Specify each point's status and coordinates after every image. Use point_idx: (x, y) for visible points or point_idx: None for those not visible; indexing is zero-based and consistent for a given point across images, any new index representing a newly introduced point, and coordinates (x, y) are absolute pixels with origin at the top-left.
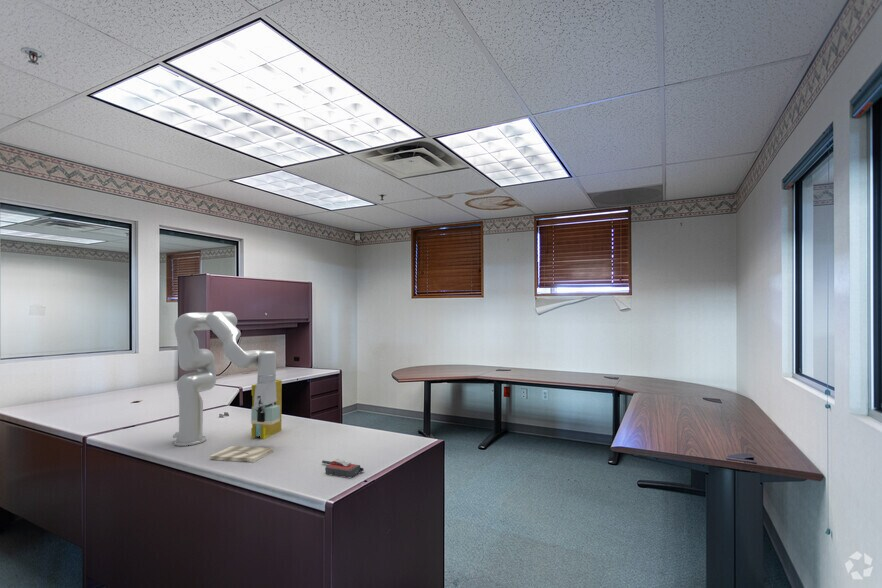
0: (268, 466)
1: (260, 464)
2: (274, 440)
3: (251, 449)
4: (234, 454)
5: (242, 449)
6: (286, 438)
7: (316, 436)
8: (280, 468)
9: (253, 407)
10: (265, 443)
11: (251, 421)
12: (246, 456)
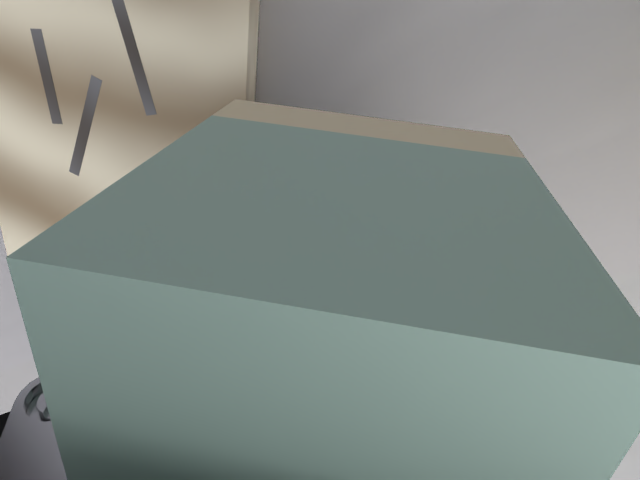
0: (7, 349)
1: (15, 298)
2: (584, 167)
3: (177, 138)
4: (24, 50)
5: (161, 44)
6: (635, 257)
7: (632, 457)
8: (8, 408)
9: (29, 330)
10: (482, 120)
11: (220, 115)
12: (20, 187)
